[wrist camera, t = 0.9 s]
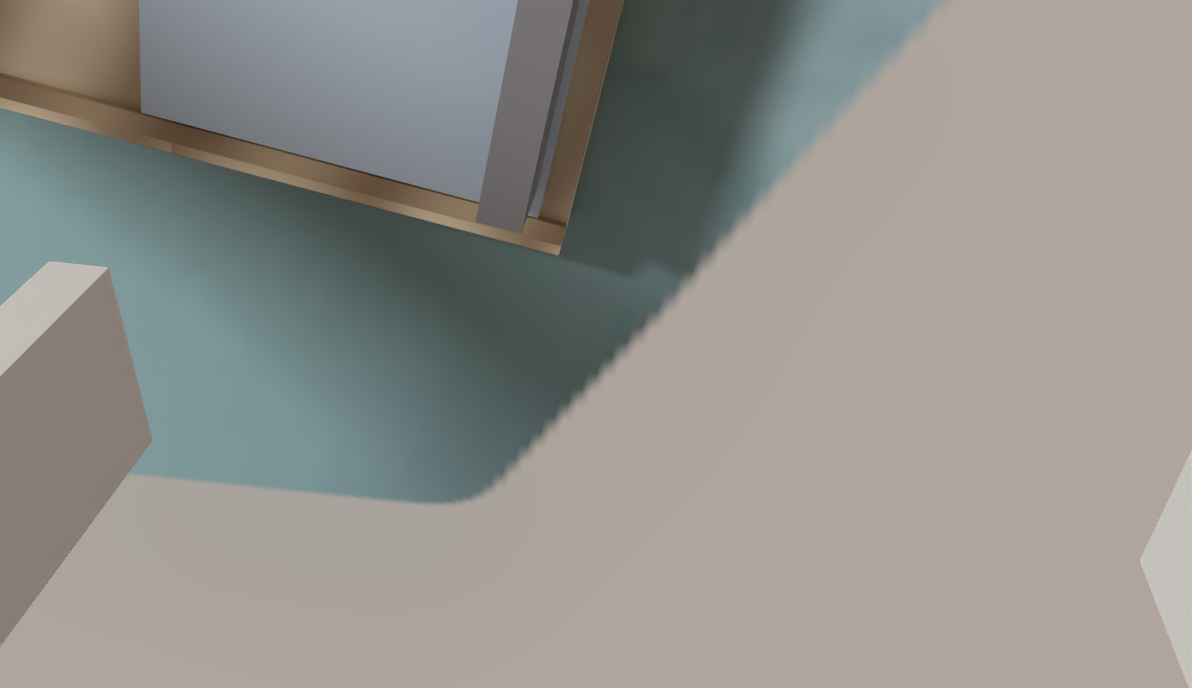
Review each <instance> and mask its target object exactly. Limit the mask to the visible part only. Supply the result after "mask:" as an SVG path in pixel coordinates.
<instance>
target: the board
mask: <svg viewBox="0 0 1192 688" xmlns="http://www.w3.org/2000/svg"><path fill="white" fill-rule="evenodd" d="M623 4H624V0H589V4H588V8H587V13H586V17H585V21H584V26H583V30H582V34H581V39H580V43H579V47H578V51H577V56H576V60H575V64H574V69H573V73H572V77H571V82H570V86H569V90H568V95H567V99H566V103H565V107H564V112H563V116H562V120H561V125H560V129H559V133H558V138H557V142H556V146H555V151H554V155H553V159H552V164H551V168H550V172H549V176H548V181H547V185H546V189H545V194H544V198H543V202H542V207H541V210H540V213H539V216H538V218H536V217H532V216H527V219H526V222H525V225H524V227H523V230H522V233H521V234H519V233H516V232H512V231H508V230H504V229H500V228H497V227H493V226H489V225H485V224H482V223H478V222H476V216H477V211H478V206H479V202H476V201H472V200H468V199H464V198H461V197H457V196H453V195H449V194H446V193H442V192H438V191H434V190H431V189H427V188H423V187H419V186H416V185H412V184H408V183H404V182H401V181H397V180H393V179H389V178H386V177H382V176H378V175H374V174H371V173H367V172H363V171H359V170H356V169H352V168H348V167H344V166H341V165H337V164H333V163H329V162H326V161H322V160H318V159H314V158H311V157H307V156H303V155H299V154H295V153H292V152H288V151H284V150H280V149H277V148H273V147H269V146H265V145H262V144H258V143H254V142H250V141H247V140H243V139H239V138H235V137H232V136H228V135H224V134H220V133H217V132H213V131H209V130H205V129H202V128H198V127H194V126H190V125H187V124H183V123H179V122H175V121H172V120H168V119H164V118H160V117H157V116H153V115H149V114H145V113H142V112H141V75H140V27H139V0H0V108H3V109H7V110H11V111H14V112H18V113H22V114H26V115H29V116H33V117H37V118H41V119H45V120H48V121H52V122H56V123H60V124H63V125H67V126H71V127H75V128H79V129H82V130H86V131H90V132H94V133H97V134H101V135H105V136H109V137H112V138H116V139H120V140H124V141H128V142H131V143H135V144H139V145H143V146H146V147H150V148H154V149H158V150H162V151H165V152H169V153H173V154H177V155H180V156H184V157H188V158H192V159H195V160H199V161H203V162H207V163H211V164H214V165H218V166H222V167H226V168H229V169H233V170H237V171H241V172H245V173H248V174H252V175H256V176H260V177H263V178H267V179H271V180H275V181H278V182H282V183H286V184H290V185H294V186H297V187H301V188H305V189H309V190H312V191H316V192H320V193H324V194H328V195H331V196H335V197H339V198H343V199H346V200H350V201H354V202H358V203H361V204H365V205H369V206H373V207H377V208H380V209H384V210H388V211H392V212H395V213H399V214H403V215H407V216H411V217H414V218H418V219H422V220H426V221H429V222H433V223H437V224H441V225H444V226H448V227H452V228H456V229H460V230H463V231H467V232H471V233H475V234H478V235H482V236H486V237H490V238H494V239H497V240H501V241H505V242H509V243H512V244H516V245H520V246H524V247H527V248H531V249H535V250H539V251H543V252H546V253H550V254H554V255H558V256H559V253H560V249H561V246H562V242H563V239H564V235H565V232H566V228H567V225H568V221H569V218H570V214H571V210H572V206H573V202H574V198H575V194H576V190H577V186H578V182H579V178H580V174H581V170H582V166H583V162H584V159H585V155H586V151H587V147H588V143H589V139H590V135H591V131H592V127H593V123H594V119H595V115H596V111H597V107H598V103H599V99H600V95H601V91H602V87H603V83H604V79H605V75H606V71H607V67H608V63H609V59H610V55H611V51H612V47H613V43H614V39H615V35H616V31H617V27H618V23H619V19H620V15H621V12H622V8H623Z"/></svg>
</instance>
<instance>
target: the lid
mask: <svg viewBox="0 0 1192 688" xmlns="http://www.w3.org/2000/svg"><path fill="white" fill-rule="evenodd" d="M588 4H589V0H139V27H140V75H141V112H142V113H145V114H149V115H153V116H157V117H160V118H164V119H168V120H172V121H175V122H179V123H183V124H187V125H190V126H194V127H198V128H202V129H205V130H209V131H213V132H217V133H220V134H224V135H228V136H232V137H235V138H239V139H243V140H247V141H250V142H254V143H258V144H262V145H265V146H269V147H273V148H277V149H280V150H284V151H288V152H292V153H295V154H299V155H303V156H307V157H311V158H314V159H318V160H322V161H326V162H329V163H333V164H337V165H341V166H344V167H348V168H352V169H356V170H359V171H363V172H367V173H371V174H374V175H378V176H382V177H386V178H389V179H393V180H397V181H401V182H404V183H408V184H412V185H416V186H419V187H423V188H427V189H431V190H434V191H438V192H442V193H446V194H449V195H453V196H457V197H461V198H464V199H468V200H472V201H476V202H479V206H478V211H477V216H476V222H478V223H482V224H485V225H489V226H493V227H497V228H500V229H504V230H508V231H512V232H516V233H519V234H521V233H522V230H523V227H524V225H525V222H526V219H527V216H532V217H536V218H538V216H539V213H540V210H541V207H542V202H543V198H544V194H545V189H546V185H547V181H548V176H549V172H550V168H551V164H552V159H553V155H554V151H555V146H556V142H557V138H558V133H559V129H560V125H561V120H562V116H563V112H564V107H565V103H566V99H567V95H568V90H569V86H570V82H571V77H572V73H573V69H574V64H575V60H576V56H577V51H578V47H579V43H580V39H581V34H582V30H583V26H584V21H585V17H586V13H587V8H588Z"/></svg>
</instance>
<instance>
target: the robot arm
mask: <svg viewBox="0 0 1192 688" xmlns="http://www.w3.org/2000/svg"><path fill="white" fill-rule="evenodd" d="M151 442H152V436H151V432H150V428H149V424H148V420H147V416H146V412H145V408H144V404H143V401H142V397H141V393H140V389H139V385H138V381H137V377H136V373H135V369H134V365H133V361H132V358H131V354H130V350H129V346H128V342H127V338H126V334H125V330H124V326H123V322H122V318H121V315H120V311H119V307H118V303H117V299H116V295H115V291H114V287H113V283H112V279H111V276H110V272H109V268H107V267H98V266H89V265H80V264H70V263H61V262H52V261H49V262H48V263H47V264H46V265H45V266H44V267H42V268H41V269H40V270H39V271H38V272H37V273H36V274H35V275H34V276H33V277H31V278H30V279H29V280H28V281H27V282H26V283H25V284H24V285H23V286H22V287H21V288H19V289H18V290H17V291H16V292H15V293H14V294H13V295H12V296H11V297H10V298H8V299H7V300H6V301H5V302H4V303H3V304H2V305H1V306H0V646H1V645H2V643H3V642H4V641H5V639H6V638H7V636H8V635H9V634H10V632H11V631H12V630H13V628H14V627H15V626H16V624H17V623H18V622H19V620H20V619H21V617H22V616H23V615H24V613H25V612H26V611H27V609H28V608H29V607H30V605H31V604H32V603H33V601H34V600H35V599H36V597H37V596H38V595H39V593H40V592H41V590H42V589H43V588H44V586H45V585H46V584H47V582H48V581H49V580H50V578H51V577H52V576H53V574H54V573H55V571H56V570H57V569H58V567H59V566H60V565H61V563H62V562H63V561H64V559H65V558H66V557H67V555H68V554H69V552H70V551H71V550H72V548H73V547H74V546H75V544H76V543H77V542H78V540H79V539H80V538H81V536H82V535H83V534H84V532H85V531H86V530H87V528H88V527H89V525H90V524H91V523H92V521H93V520H94V519H95V517H96V516H97V515H98V513H99V512H100V511H101V509H102V508H103V507H104V505H105V504H106V502H107V501H108V500H109V498H110V497H111V496H112V494H113V493H114V492H115V490H116V489H117V488H118V486H119V485H120V483H121V482H122V481H123V479H124V478H125V477H126V475H127V474H128V473H129V471H130V470H131V469H132V467H133V466H134V465H135V463H136V462H137V460H138V459H139V458H140V456H141V455H142V454H143V452H144V451H145V450H146V448H147V447H148V446H149V444H150V443H151ZM1140 564H1141V566H1142V569H1143V572H1144V574H1145V577H1146V579H1147V582H1148V584H1149V587H1150V589H1151V592H1152V595H1153V597H1154V600H1155V602H1156V605H1157V608H1158V610H1159V613H1160V615H1161V618H1162V621H1163V623H1164V625H1165V628H1166V631H1167V633H1168V636H1169V639H1170V641H1171V644H1172V646H1173V649H1174V651H1175V654H1176V657H1177V659H1178V662H1179V664H1180V667H1181V670H1182V672H1183V675H1184V677H1185V680H1186V682H1187V685H1188V688H1192V451H1191V453H1190V455H1189V457H1188V459H1187V461H1186V464H1185V466H1184V468H1183V470H1182V472H1181V474H1180V476H1179V478H1178V480H1177V482H1176V485H1175V487H1174V489H1173V491H1172V493H1171V495H1170V497H1169V499H1168V501H1167V504H1166V506H1165V508H1164V510H1163V512H1162V514H1161V516H1160V518H1159V520H1158V523H1157V525H1156V527H1155V529H1154V531H1153V533H1152V535H1151V537H1150V540H1149V542H1148V544H1147V546H1146V548H1145V550H1144V552H1143V554H1142V556H1141V558H1140Z"/></svg>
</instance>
